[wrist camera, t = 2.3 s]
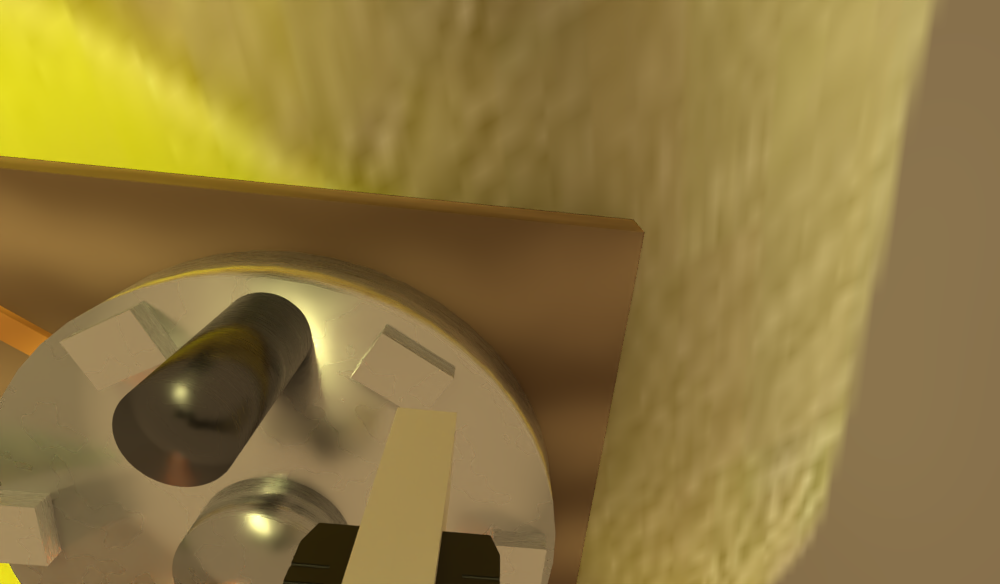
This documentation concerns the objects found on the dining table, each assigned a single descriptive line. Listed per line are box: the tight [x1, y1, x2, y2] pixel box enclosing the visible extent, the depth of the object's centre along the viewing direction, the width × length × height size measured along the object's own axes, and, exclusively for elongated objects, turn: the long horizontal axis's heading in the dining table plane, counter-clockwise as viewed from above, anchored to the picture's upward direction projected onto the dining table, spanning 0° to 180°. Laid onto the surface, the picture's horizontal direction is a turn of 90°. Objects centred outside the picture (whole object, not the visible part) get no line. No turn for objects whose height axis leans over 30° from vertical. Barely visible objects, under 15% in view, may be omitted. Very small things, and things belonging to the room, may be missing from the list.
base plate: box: [0, 156, 645, 584], centre depth 27 cm, size 26×26×2 cm
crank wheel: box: [0, 250, 556, 584], centre depth 22 cm, size 22×22×9 cm
